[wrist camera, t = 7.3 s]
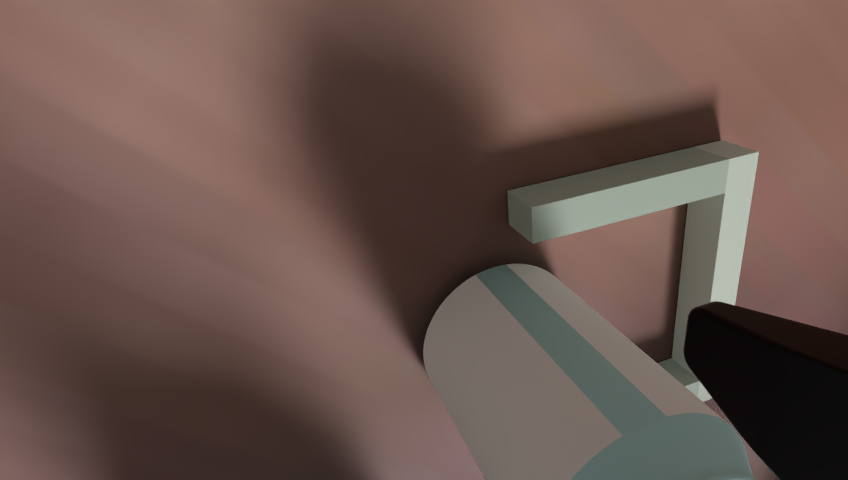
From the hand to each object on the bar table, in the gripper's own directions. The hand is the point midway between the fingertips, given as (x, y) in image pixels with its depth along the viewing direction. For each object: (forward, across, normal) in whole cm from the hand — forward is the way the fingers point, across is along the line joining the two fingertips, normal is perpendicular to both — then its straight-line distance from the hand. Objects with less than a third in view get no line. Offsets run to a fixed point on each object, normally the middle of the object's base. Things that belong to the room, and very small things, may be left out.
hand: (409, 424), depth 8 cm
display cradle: (+13, -12, +10) cm, 21 cm away
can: (+14, -7, +10) cm, 18 cm away
